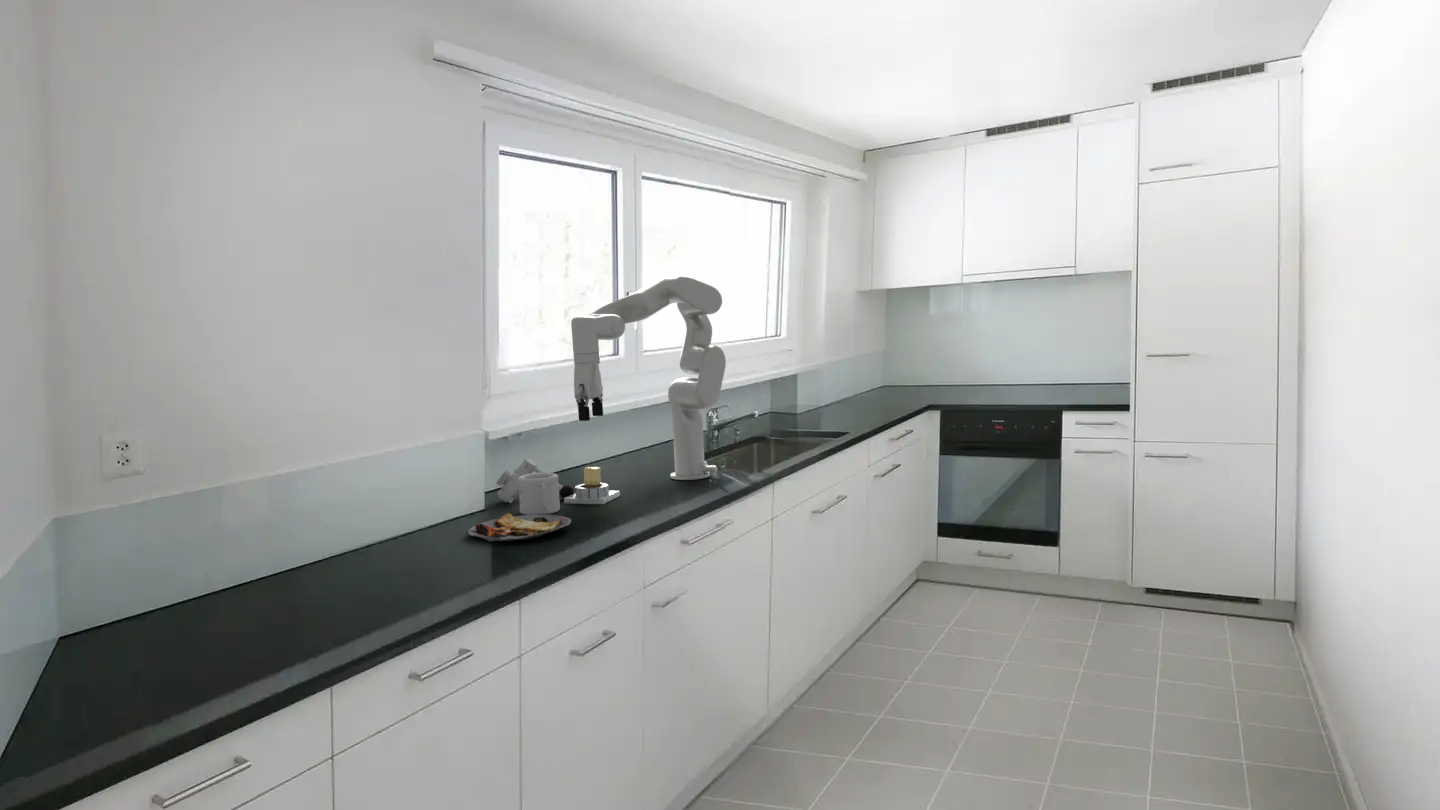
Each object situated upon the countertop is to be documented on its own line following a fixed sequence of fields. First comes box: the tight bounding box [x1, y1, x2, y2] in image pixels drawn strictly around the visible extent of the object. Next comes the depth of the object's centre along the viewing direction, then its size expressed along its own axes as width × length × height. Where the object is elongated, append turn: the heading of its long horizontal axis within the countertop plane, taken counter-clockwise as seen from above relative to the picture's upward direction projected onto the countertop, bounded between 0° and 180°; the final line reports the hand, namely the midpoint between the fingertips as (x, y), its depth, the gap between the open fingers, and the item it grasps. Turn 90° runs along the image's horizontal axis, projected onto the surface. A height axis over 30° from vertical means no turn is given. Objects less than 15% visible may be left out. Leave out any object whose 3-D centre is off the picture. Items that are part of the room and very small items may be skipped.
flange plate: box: [563, 482, 621, 505], centre depth 278 cm, size 12×12×4 cm
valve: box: [495, 457, 575, 504], centre depth 280 cm, size 10×20×15 cm
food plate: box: [465, 512, 572, 543], centre depth 240 cm, size 25×23×4 cm
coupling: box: [583, 466, 602, 488], centre depth 278 cm, size 5×5×8 cm
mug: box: [518, 472, 561, 516], centre depth 263 cm, size 14×11×10 cm
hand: (591, 418), depth 281 cm, fingers open, 9 cm apart
